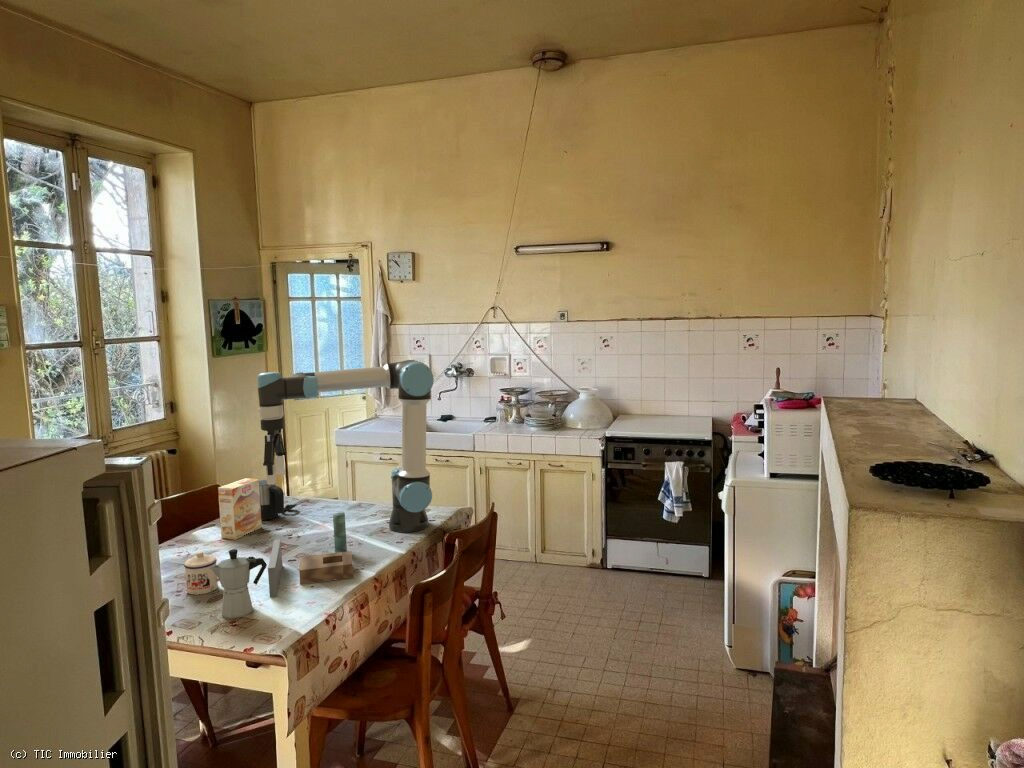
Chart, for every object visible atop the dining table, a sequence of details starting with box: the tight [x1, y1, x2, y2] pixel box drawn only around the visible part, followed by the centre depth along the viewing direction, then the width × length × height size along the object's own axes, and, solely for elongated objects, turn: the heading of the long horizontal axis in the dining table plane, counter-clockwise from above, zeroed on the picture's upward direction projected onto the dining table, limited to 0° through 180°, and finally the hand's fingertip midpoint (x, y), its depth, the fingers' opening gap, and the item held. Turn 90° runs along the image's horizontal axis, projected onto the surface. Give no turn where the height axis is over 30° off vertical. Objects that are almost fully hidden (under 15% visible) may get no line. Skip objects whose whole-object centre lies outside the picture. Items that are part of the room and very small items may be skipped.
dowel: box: [332, 512, 348, 553], centre depth 236 cm, size 4×4×14 cm
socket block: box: [298, 550, 354, 585], centre depth 218 cm, size 16×12×4 cm
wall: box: [267, 538, 283, 599], centre depth 214 cm, size 2×26×9 cm, turn 15°
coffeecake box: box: [217, 477, 263, 541], centre depth 261 cm, size 15×7×20 cm, turn 161°
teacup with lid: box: [183, 551, 220, 596], centre depth 209 cm, size 12×9×12 cm
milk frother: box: [259, 479, 298, 521], centre depth 284 cm, size 14×16×15 cm
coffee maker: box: [209, 548, 268, 620], centre depth 192 cm, size 15×9×18 cm, turn 114°
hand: (276, 479), depth 235 cm, fingers open, 13 cm apart
